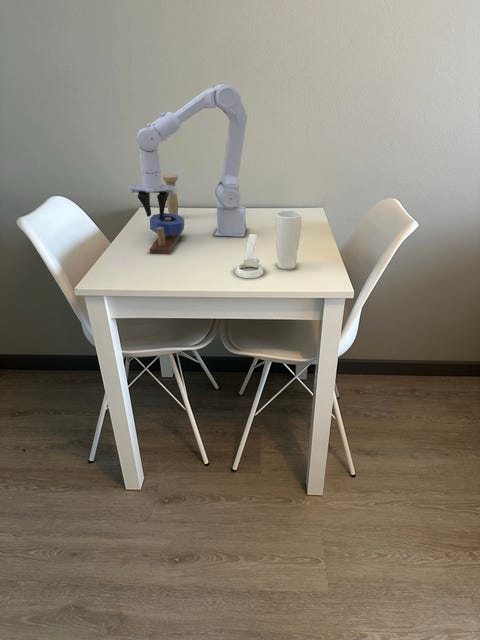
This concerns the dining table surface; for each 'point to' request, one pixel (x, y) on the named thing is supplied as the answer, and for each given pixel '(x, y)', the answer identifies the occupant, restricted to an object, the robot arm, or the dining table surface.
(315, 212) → the dining table surface
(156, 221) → the ring
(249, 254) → the white stemmed ring
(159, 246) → the rack
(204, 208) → the dining table surface
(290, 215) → the drinking glass
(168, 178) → the handle
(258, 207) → the dining table surface
